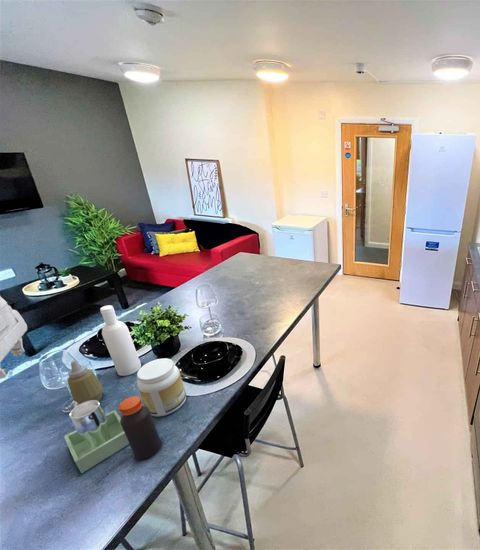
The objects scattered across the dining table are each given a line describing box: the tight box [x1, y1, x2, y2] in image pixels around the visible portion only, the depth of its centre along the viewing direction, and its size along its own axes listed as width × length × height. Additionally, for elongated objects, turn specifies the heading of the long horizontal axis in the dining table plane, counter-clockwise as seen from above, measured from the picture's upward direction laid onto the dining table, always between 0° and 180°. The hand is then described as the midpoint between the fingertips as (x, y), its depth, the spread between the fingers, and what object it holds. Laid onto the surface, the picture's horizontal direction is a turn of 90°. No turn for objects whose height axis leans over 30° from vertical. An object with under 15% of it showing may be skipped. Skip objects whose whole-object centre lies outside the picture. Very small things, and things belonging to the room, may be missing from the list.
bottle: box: [99, 304, 142, 377], centre depth 114 cm, size 8×8×30 cm
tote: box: [63, 409, 130, 474], centre depth 90 cm, size 13×13×5 cm
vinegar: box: [118, 395, 162, 461], centre depth 86 cm, size 7×7×20 cm
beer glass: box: [68, 400, 114, 451], centre depth 87 cm, size 7×7×15 cm
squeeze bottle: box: [66, 360, 104, 405], centre depth 102 cm, size 8×8×18 cm
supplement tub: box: [136, 357, 187, 417], centre depth 102 cm, size 12×12×17 cm
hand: (11, 365), depth 75 cm, fingers open, 8 cm apart
